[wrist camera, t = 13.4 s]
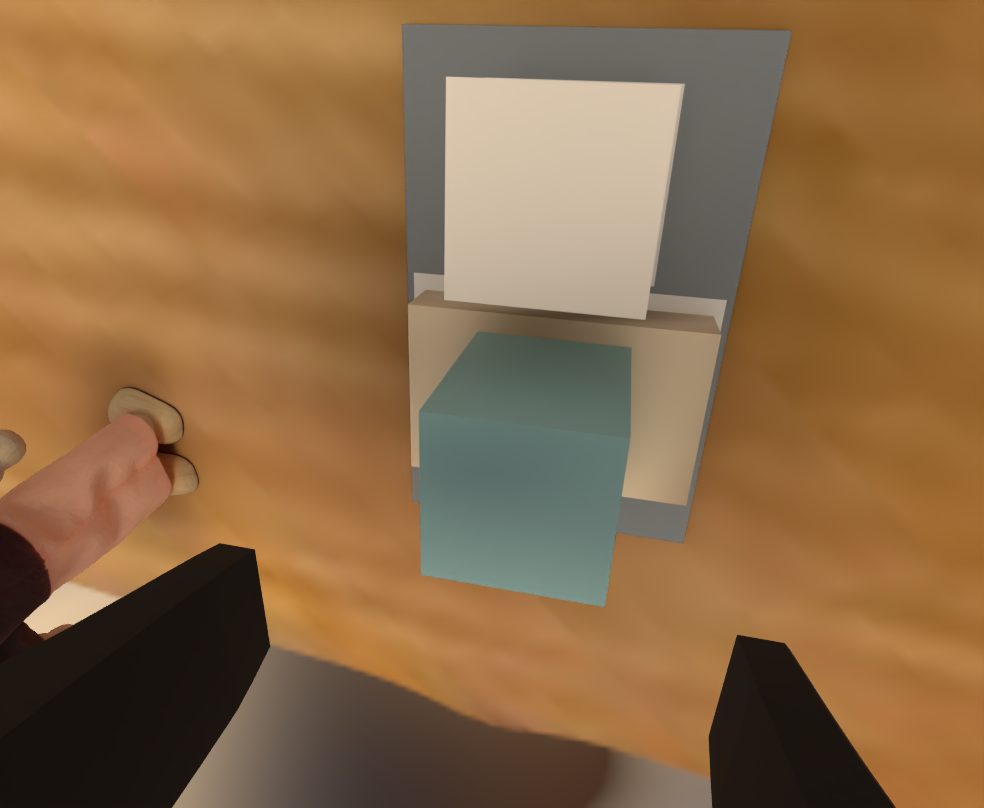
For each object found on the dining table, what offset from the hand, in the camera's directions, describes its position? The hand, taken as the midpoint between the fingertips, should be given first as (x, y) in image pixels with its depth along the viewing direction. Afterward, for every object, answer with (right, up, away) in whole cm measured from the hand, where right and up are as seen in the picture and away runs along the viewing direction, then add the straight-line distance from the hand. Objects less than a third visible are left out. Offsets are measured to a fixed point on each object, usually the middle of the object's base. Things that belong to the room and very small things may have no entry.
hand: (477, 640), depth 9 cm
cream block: (+2, +9, +6) cm, 12 cm away
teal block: (+2, +3, +8) cm, 9 cm away
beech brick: (+2, +4, +9) cm, 10 cm away
